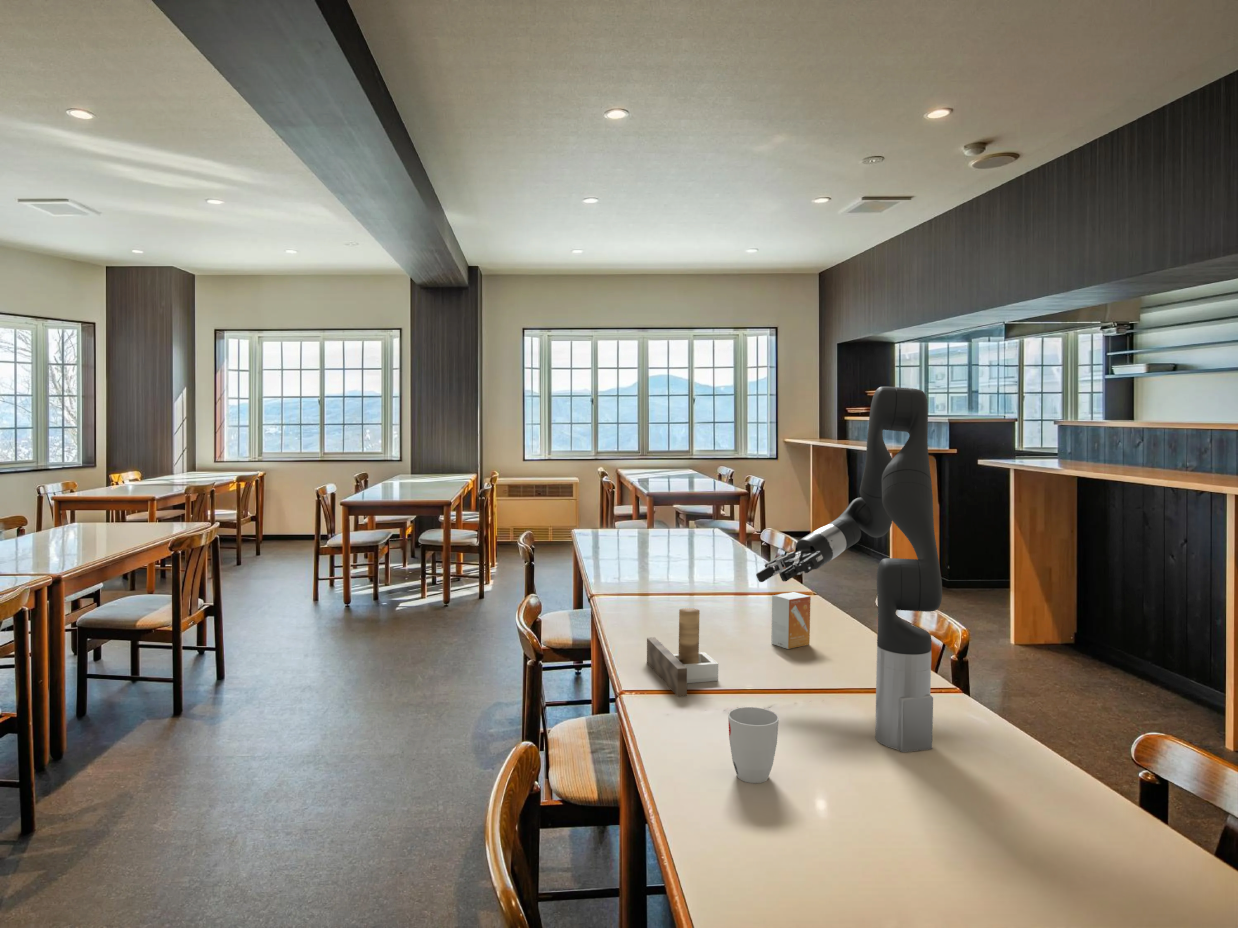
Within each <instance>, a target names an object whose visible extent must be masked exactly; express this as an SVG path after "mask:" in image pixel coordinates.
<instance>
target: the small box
mask: <svg viewBox="0 0 1238 928" xmlns="http://www.w3.org/2000/svg"><path fill="white" fill-rule="evenodd" d="M810 630H811V595H807V594H803V593H800V592H795V591H793V592H792V591H791V592H785V593H784V592H783V593H779V594H775V595H774V594H772V596H771V645H775V646H777V647H780V648H783V649H787V650H790V649H794V648H795V649H796V648H799V647H804V646H809V645H810V639H811V638H810V637H811V634H810V633H811V631H810Z"/></svg>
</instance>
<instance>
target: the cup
mask: <svg viewBox="0 0 1238 928" xmlns="http://www.w3.org/2000/svg"><path fill="white" fill-rule="evenodd" d="M727 718H728V740H729V746H730V753H731V759H732V764H733V767H734V770H735V773H736V777H737V778H738V779H739V780H740V781H742V782H745V783H748V784H761V783H764V782H766V781H768V780H769V777H770V774H771V771H772V768H773V765H774V760H775V756H776V755H775V754H776V750H777V745H778V744H777V743H778V732H779V722H780V721H779V720H780V717H779V715H778V714H777V713H775V712H774V711H773V710H769V709H767V708H763V707H756V706H755V707H754V706H744V707H743V706H741V707H736V708H733V709H731V710H729V712H728V714H727Z"/></svg>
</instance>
